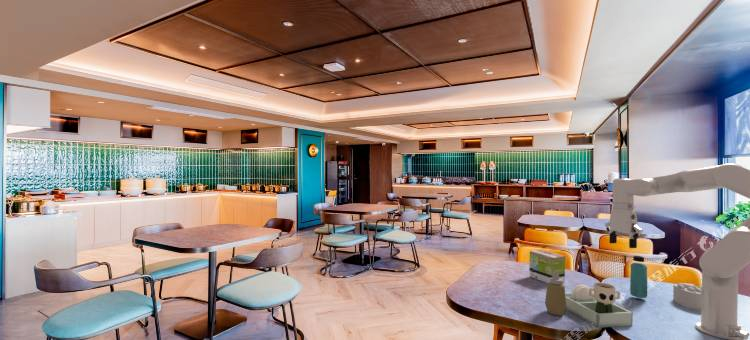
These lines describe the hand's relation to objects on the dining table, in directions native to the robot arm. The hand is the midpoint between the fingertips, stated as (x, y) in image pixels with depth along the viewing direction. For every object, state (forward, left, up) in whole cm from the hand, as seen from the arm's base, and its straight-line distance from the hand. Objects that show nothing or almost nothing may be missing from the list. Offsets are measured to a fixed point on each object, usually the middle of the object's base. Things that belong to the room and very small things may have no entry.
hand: (622, 245), depth 150 cm
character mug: (-11, +19, -26) cm, 34 cm away
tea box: (+38, +10, -27) cm, 48 cm away
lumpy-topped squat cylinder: (-1, -34, -27) cm, 44 cm away
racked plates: (0, +19, -26) cm, 32 cm away
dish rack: (-5, +19, -27) cm, 34 cm away
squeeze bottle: (-2, +34, -27) cm, 44 cm away
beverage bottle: (+8, -16, -27) cm, 33 cm away
